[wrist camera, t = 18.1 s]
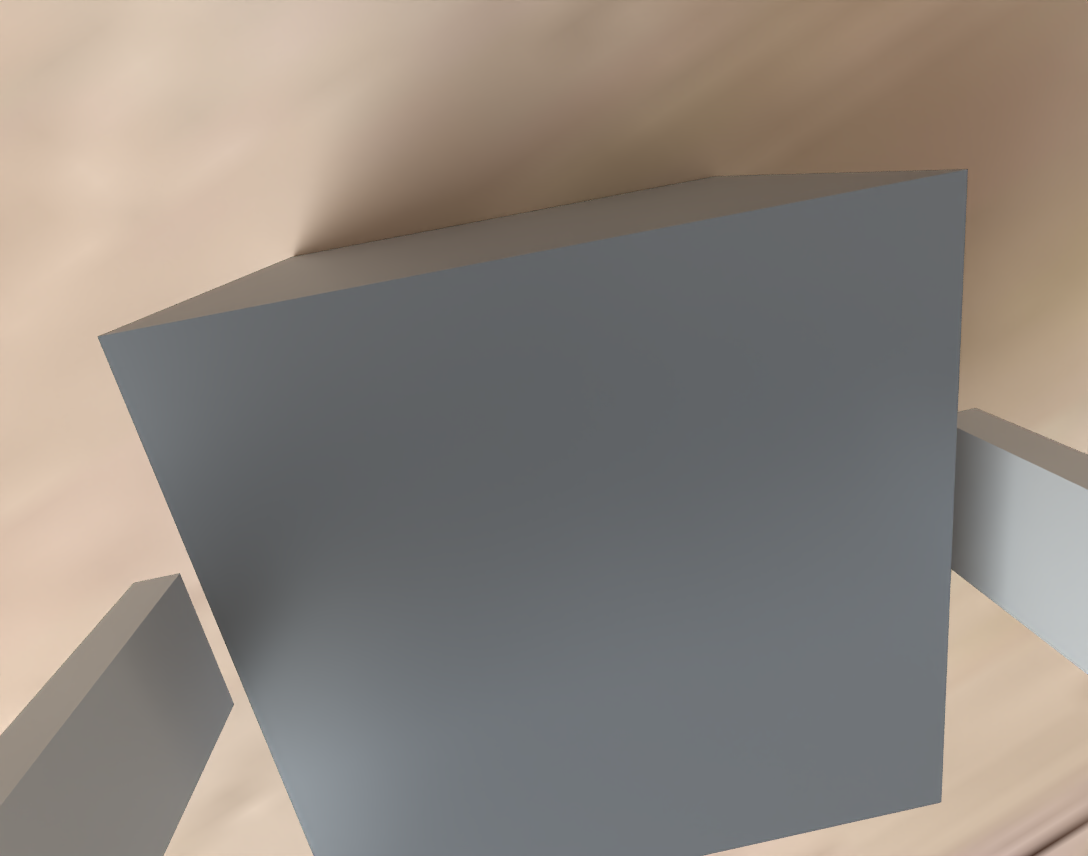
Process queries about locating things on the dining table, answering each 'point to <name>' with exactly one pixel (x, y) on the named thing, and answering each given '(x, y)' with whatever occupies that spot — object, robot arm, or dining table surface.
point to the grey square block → (583, 514)
